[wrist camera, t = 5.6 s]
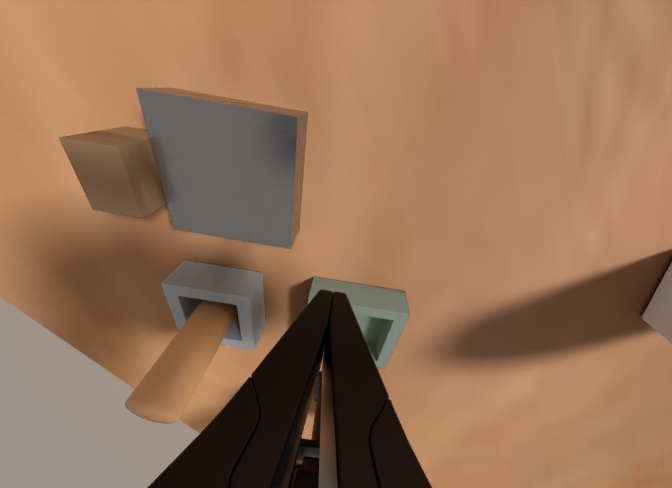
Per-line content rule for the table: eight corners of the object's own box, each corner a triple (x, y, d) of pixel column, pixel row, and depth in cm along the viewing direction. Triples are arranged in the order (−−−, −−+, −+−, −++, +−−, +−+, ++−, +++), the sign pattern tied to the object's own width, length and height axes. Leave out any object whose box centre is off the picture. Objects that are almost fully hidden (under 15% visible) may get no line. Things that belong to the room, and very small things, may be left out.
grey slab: (300, 227, 19) (290, 249, 16) (198, 209, 19) (173, 228, 16) (309, 111, 14) (297, 116, 12) (175, 88, 14) (135, 88, 12)
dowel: (245, 308, 24) (183, 426, 16) (214, 303, 24) (135, 418, 16) (243, 284, 22) (171, 404, 14) (209, 279, 22) (116, 395, 14)
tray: (383, 345, 25) (384, 369, 23) (307, 333, 25) (302, 355, 23) (405, 291, 21) (410, 314, 19) (313, 276, 21) (308, 297, 19)
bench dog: (184, 193, 17) (143, 218, 14) (144, 186, 17) (93, 209, 14) (171, 134, 15) (117, 147, 12) (125, 126, 15) (58, 137, 12)
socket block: (265, 323, 25) (254, 350, 22) (199, 312, 25) (180, 338, 22) (262, 272, 21) (249, 297, 19) (184, 259, 21) (160, 283, 19)
